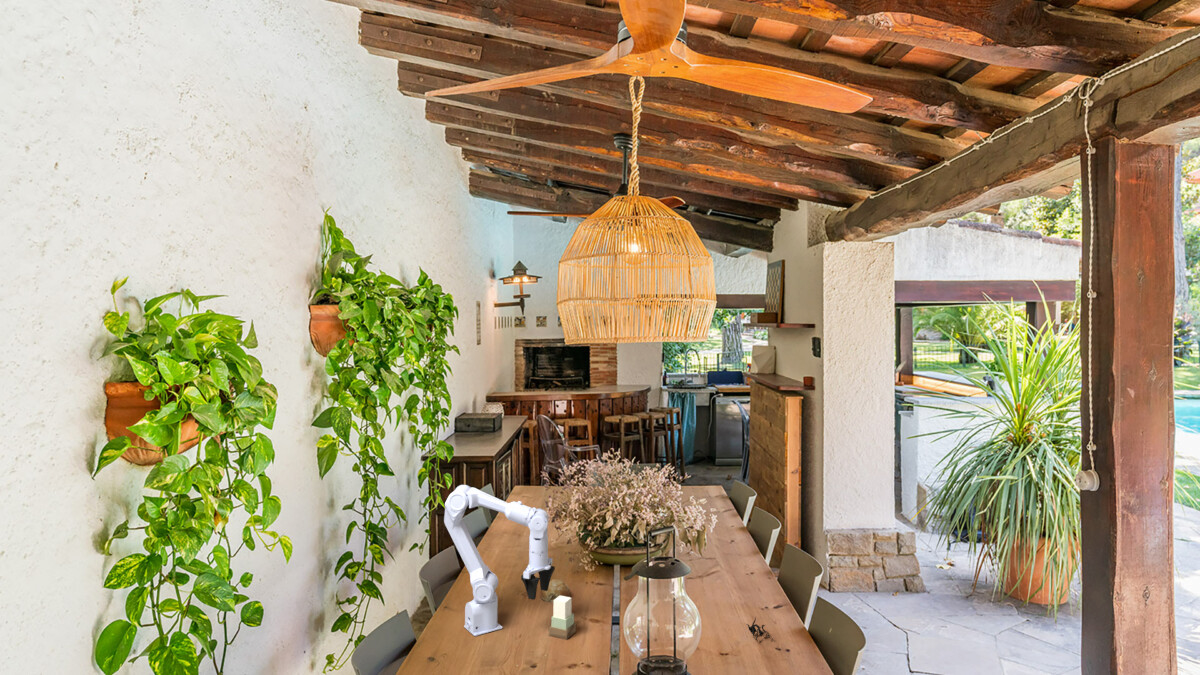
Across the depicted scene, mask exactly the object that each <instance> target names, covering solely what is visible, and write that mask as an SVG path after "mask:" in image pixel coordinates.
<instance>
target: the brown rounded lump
mask: <svg viewBox="0 0 1200 675" xmlns="http://www.w3.org/2000/svg"><path fill="white" fill-rule="evenodd" d="M539 592H540V593H539V596H540V598H541V599H542V600H543V601H544V602H547V603H551V604H554V599H556V598H557V597H559V596H565V597H570V588H569V585H568V584H567V583H565V582H564V581H563V580H561V579H559V578H551V579H550V583H549V587H548V590H547V591H543V590H541V589H540V591H539Z"/></svg>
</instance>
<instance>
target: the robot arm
mask: <svg viewBox="0 0 1200 675" xmlns="http://www.w3.org/2000/svg"><path fill="white" fill-rule="evenodd" d="M479 506H481V507H484V508H487V509H491V510H494V511H497V512H499V513H502V514H503V515H504V516H505V517H506V519H507V520H509V521H510V522H514V523H516V524H519V525H521V526H524V527H528V529H529V540H528V542H529V543H528V545H529V547H528V565H527V567H526V569H525V570H524V571H523V574H521V576H520V580H521V581H522V584H523V585H524V587H525V590H526V595H527V599H528V600H532V601H535V600H536V598H537V591H538V590H537V589H538V586H539V587H540V591H541V590H543V591H547V590H548V587H549V583H550V580H552V576H553V573H554V572H555V569H556V567H555V566H553V562H554V561H553V557H549V552H548V551H549V545H548V544H549V535H548V534H549V531H548V524H549V521H550V520H549V518H550V517H549V514H548V512H546V510H545V509H542V508H536V507H534V506H533V507H530V506H528V505H525V504H523V501H521V500H518V501H511V502H506V501H505V500H502V499H500V498H498V497H495V496H493V495H491V494H488V493H487V492H484V491H482V490H480V489H478V488H476V487H471V486H469V485H468V484H460V485H457V487H455V489H454V490H453V491H452V492H451V493H450V494H449V495H448V497H447V499H446V501H445V503H444V516H443V522H444V526H445V527H446V529H447V531H448V533H449V535H450V537H451V539H452V542H453V543H454V546H455V547H456V550H457V552H458V554H459V555H460V557H461V560H462V561H463V562H462V563H464V566H465V567H466V569H467V572H468V573H469V579H470V585H471V587H472V595H473V599H472V600H471V601H469V602H468V601H467V602H466V603H465V607H464V625H463V627H464V629H465V630H467V631H468V632H469V633H470V634H472V635H473V636H474V637H477V636H480V635H484V634H487V633H490V632H494V631H498V630H501V629H503V626H502V625H501V624H500V623H499V622H498V594H497V593H496V589H497V587H498V585H499V578H498V576H497V574H495V573H494V572H493V571H491V568H490V567H489V566H488V565H487V564H485V562H484V560H483V558H482V556H481V555H480V553H479V550H478V549H477V547H476V545H475V544H476V543H475V542H474V540H473V539H472V537H471V535H470V532H469V530H468V528H467V527H466V525H465V522H464V521H463V517H464V516H465V515H464V514H465V512H466V510H467V507H468V508H469V509H473V508H476V507H479ZM535 574H538V577H537V576H536V575H535ZM538 584H539V585H538Z"/></svg>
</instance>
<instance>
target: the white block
mask: <svg viewBox="0 0 1200 675" xmlns="http://www.w3.org/2000/svg"><path fill="white" fill-rule="evenodd" d="M552 604H553V608H552V611H553V612H552V613H553V615H552V616H553V617H557V618H562V619H566V618H567V617H568V616H570V615H571V613H572V597H570V596H569V597H565V596H559V597H557V598H556V599H554V603H552Z"/></svg>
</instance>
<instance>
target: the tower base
mask: <svg viewBox="0 0 1200 675" xmlns="http://www.w3.org/2000/svg"><path fill="white" fill-rule="evenodd" d="M576 632H577V623H576V622H574V624H573V625H572V626H571V627H569V628H568V629H567V630H563V629H559V628H555V627H551V625H550V626H548V637H553V638H556V639H560V640H564V641H568V639H570V638H571V637H572V636H573V635H574V634H575V633H576ZM571 635H572V636H571ZM570 636H571V637H570Z"/></svg>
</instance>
